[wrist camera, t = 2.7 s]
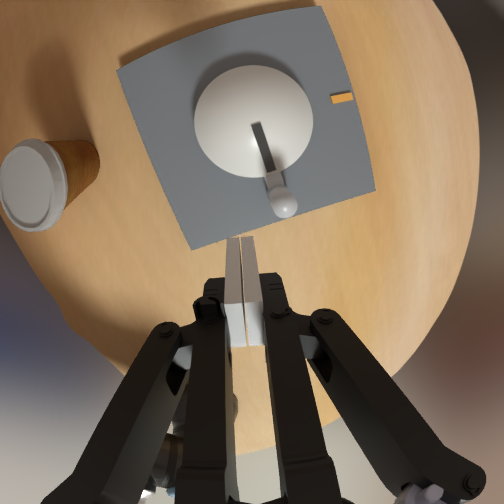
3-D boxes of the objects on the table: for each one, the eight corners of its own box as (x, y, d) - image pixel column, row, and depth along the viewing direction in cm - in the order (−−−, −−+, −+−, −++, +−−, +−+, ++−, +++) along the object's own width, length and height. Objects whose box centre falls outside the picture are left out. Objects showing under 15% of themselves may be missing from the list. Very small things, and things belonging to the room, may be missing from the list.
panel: (193, 243, 35) (191, 251, 33) (122, 72, 24) (115, 70, 22) (368, 186, 33) (376, 191, 31) (316, 11, 22) (321, 4, 20)
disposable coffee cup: (52, 132, 26) (-8, 148, 15) (110, 124, 27) (54, 134, 16) (57, 199, 30) (4, 235, 20) (112, 198, 31) (65, 238, 21)
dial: (180, 90, 24) (169, 85, 20) (289, 56, 23) (300, 45, 19) (231, 221, 32) (231, 239, 27) (330, 189, 30) (345, 202, 26)
